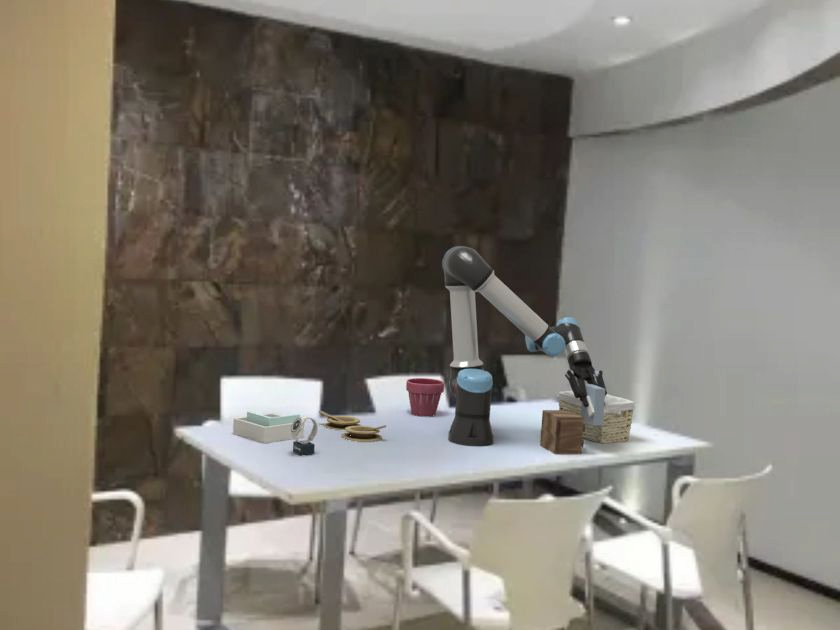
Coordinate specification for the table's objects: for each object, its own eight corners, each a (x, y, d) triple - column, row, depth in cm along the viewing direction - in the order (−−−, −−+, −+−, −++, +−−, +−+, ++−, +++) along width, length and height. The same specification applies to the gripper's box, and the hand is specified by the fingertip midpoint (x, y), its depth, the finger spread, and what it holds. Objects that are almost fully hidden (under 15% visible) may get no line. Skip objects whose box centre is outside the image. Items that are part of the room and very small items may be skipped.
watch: (286, 452, 275) (288, 416, 274) (310, 450, 280) (312, 414, 279) (295, 456, 271) (297, 419, 270) (319, 454, 275) (321, 418, 274)
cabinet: (583, 453, 298) (586, 417, 297) (555, 454, 295) (558, 417, 294) (567, 445, 309) (569, 410, 308) (540, 445, 306) (542, 410, 305)
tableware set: (397, 442, 300) (398, 424, 300) (342, 445, 291) (343, 427, 291) (360, 423, 327) (361, 407, 326) (308, 426, 317) (309, 409, 317)
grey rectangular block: (602, 425, 301) (605, 388, 300) (593, 425, 300) (595, 388, 298) (589, 419, 309) (592, 384, 308) (580, 419, 308) (582, 384, 307)
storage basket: (634, 442, 322) (637, 400, 321) (601, 445, 313) (605, 403, 312) (585, 427, 342) (588, 388, 341) (553, 431, 332) (556, 390, 331)
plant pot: (412, 418, 338) (414, 384, 337) (399, 410, 351) (401, 377, 350) (447, 417, 343) (450, 384, 342) (433, 410, 356) (435, 377, 355)
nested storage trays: (264, 443, 284) (265, 427, 284) (232, 433, 295) (233, 418, 295) (303, 437, 296) (304, 422, 296) (272, 428, 307) (272, 413, 306)
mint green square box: (298, 437, 296) (299, 414, 295) (268, 441, 287) (269, 418, 287) (275, 430, 304) (277, 408, 303) (245, 434, 295) (247, 411, 295)
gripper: (595, 363, 320) (615, 420, 306) (552, 363, 315) (570, 421, 301) (604, 350, 314) (625, 407, 300) (560, 350, 309) (579, 408, 295)
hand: (597, 414), depth 300 cm, fingers closed on grey rectangular block, 3 cm apart
